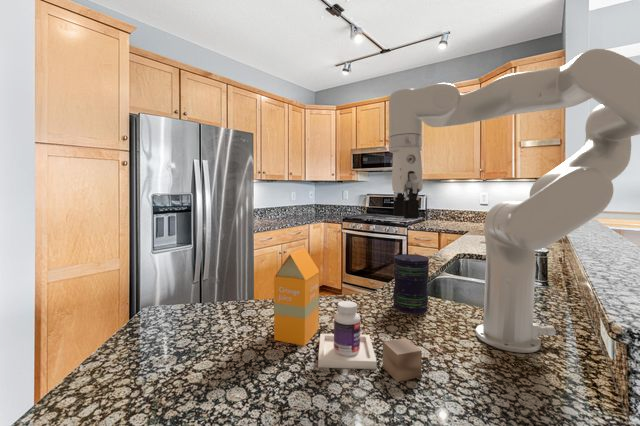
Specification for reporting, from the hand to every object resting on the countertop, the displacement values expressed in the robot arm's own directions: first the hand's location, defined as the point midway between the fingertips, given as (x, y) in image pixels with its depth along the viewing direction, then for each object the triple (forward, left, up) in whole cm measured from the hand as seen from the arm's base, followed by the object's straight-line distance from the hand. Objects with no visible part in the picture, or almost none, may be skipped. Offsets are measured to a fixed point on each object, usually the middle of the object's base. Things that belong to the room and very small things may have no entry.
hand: (405, 216), depth 73 cm
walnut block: (+4, +18, -28) cm, 33 cm away
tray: (+14, +12, -28) cm, 33 cm away
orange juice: (+25, +4, -28) cm, 38 cm away
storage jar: (-6, -15, -28) cm, 32 cm away
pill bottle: (+14, +12, -27) cm, 33 cm away
